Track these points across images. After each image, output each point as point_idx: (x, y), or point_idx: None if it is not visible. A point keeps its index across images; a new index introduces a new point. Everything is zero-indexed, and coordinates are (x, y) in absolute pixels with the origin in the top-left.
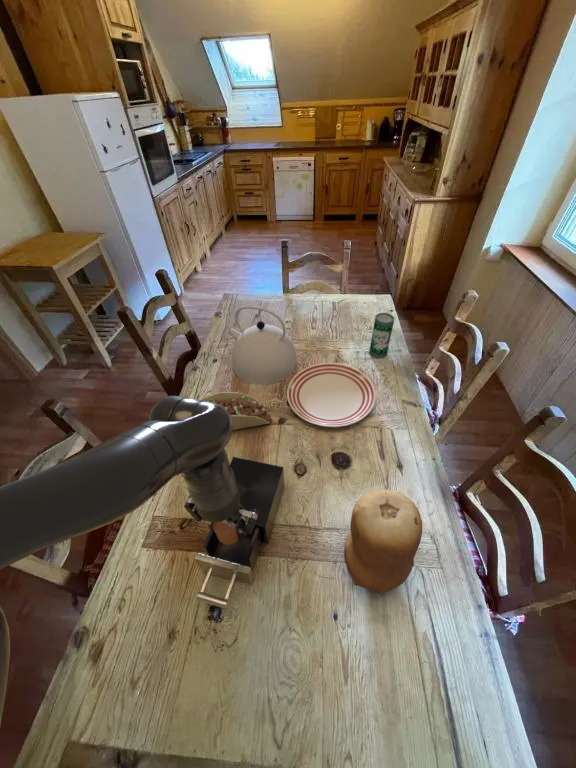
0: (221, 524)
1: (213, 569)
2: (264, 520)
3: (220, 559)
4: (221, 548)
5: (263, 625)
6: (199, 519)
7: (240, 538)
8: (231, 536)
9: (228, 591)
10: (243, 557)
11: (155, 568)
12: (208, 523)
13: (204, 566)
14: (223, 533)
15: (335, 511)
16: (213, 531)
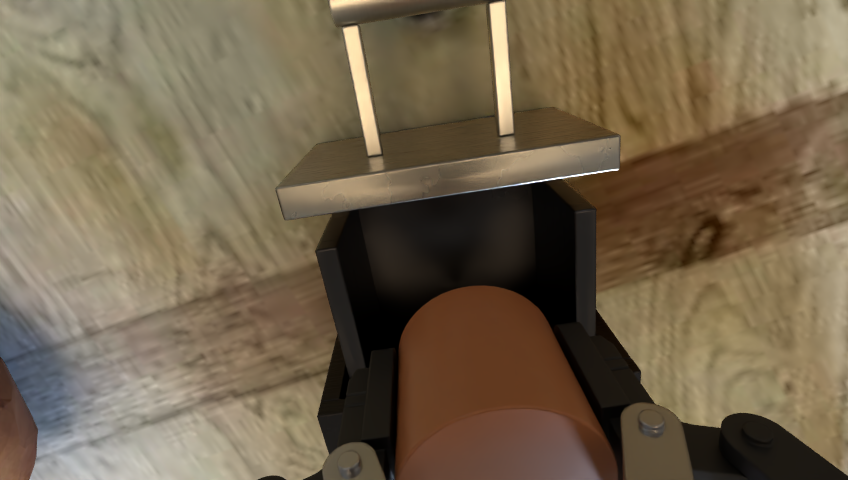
0: (527, 464)
1: (494, 131)
2: (337, 439)
3: (466, 192)
4: (509, 221)
5: (198, 25)
6: (753, 459)
7: (377, 362)
8: (417, 385)
9: (359, 66)
10: (400, 226)
11: (766, 32)
12: (644, 435)
13: (545, 125)
14: (473, 418)
15: (186, 465)
16: (572, 335)
